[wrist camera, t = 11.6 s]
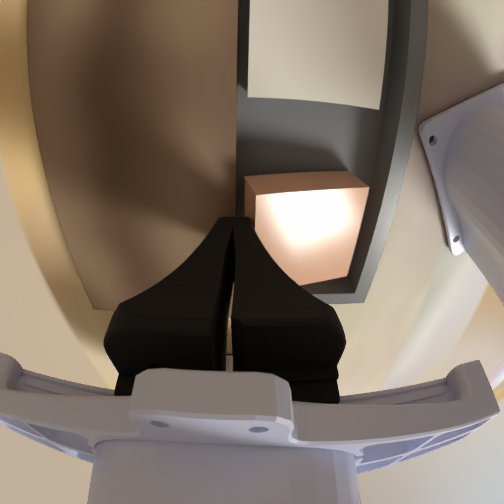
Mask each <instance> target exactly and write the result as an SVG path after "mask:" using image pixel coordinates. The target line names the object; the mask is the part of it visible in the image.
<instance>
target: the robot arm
mask: <svg viewBox="0 0 504 504" xmlns="http://www.w3.org/2000/svg"><path fill="white" fill-rule="evenodd" d="M419 135H420V137H421V140H422V143H423V146H424V149H425V152H426V155H427V158H428V162H429V165H430V168H431V172H432V175H433V178H434V182H435V186H436V189H437V193H438V197H439V201H440V205H441V210H442V214H443V219H444V223H445V228H446V233H447V239H448V244H449V250H450V252H451V253H452V255H458V254H460V253H462V252H463V251H466V252H467V253H468V255H469V256H470V257H471V259H472V260H473V261H474V263H475V264H476V265H477V267H478V268H479V269H480V271H481V272H482V274H483V275H484V276H485V278H486V279H487V281H488V282H489V284H490V285H491V287H492V288H493V289H494V291H495V293H496V294H497V296H498V297H499V299H500V300H501V302H502V303H503V305H504V83H502V84H500V85H498V86H496V87H493V88H491V89H489V90H487V91H485V92H483V93H481V94H478V95H476V96H474V97H472V98H470V99H468V100H466V101H464V102H462V103H460V104H458V105H455V106H453V107H451V108H449V109H447V110H445V111H443V112H441V113H439V114H437V115H435V116H433V117H431V118H429V119H427V120H425V121H423V122H422V123H421V124H420V126H419ZM431 136H433V141H432V142H431V143H429V139H430V137H431ZM455 236H456V237H455ZM454 237H455V238H454ZM233 283H234V291H233V302H232V312H231V329H232V351H233V372H232V371H226V353H227V326H228V317H229V310H230V303H231V296H232V290H233ZM345 345H346V339H345V334H344V330H343V327H342V325H341V322H340V320H339V318H338V316H337V314H336V312H335V310H334V308H333V307H332V306H330V305H328V304H326V303H325V302H323V301H321V300H320V299H318V298H316V297H315V296H313V295H312V294H310V293H309V292H307V291H306V290H305V289H303V288H302V287H301V286H299V285H298V284H297V283H296V282H295V281H294V280H292V279H291V278H290V277H289V276H288V275H287V274H286V273H285V272H284V271H283V270H282V269H281V268H280V267H279V265H278V264H277V263H276V262H275V261H274V259H273V258H272V257H271V255H270V254H269V253H268V251H267V250H266V248H265V247H264V245H263V244H262V242H261V240H260V239H259V237H258V235H257V233H256V231H255V229H254V227H253V224H252V221H251V219H250V218H249V217H219V218H218V219H217V220H216V222H215V224H214V225H213V227H212V229H211V230H210V231H209V233H208V234H207V236H206V237H205V238H204V239H203V241H202V242H201V243H200V245H199V246H198V247H197V248H196V249H195V250H194V251H193V253H192V254H191V255H190V256H189V257H188V258H187V259H186V260H185V261H184V262H183V263H182V264H181V265H180V266H179V267H178V268H176V269H175V270H174V271H173V272H172V273H170V274H169V275H168V276H166V277H165V278H164V279H162V280H161V281H160V282H158V283H156V284H155V285H153V286H152V287H150V288H148V289H147V290H145V291H143V292H142V293H140V294H138V295H136V296H134V297H132V298H130V299H128V300H126V301H124V302H122V303H119V305H118V307H117V309H116V311H115V312H114V314H113V316H112V319H111V321H110V324H109V326H108V329H107V332H106V335H105V338H104V348H105V351H106V353H107V355H108V356H109V358H110V360H111V361H112V363H113V365H114V366H115V368H116V369H117V371H118V373H119V376H118V379H117V383H116V387H115V390H111V389H105V388H100V387H94V386H89V385H84V384H79V383H74V382H70V381H66V380H62V379H57V378H54V377H50V376H46V375H42V374H39V373H35V372H32V371H28V370H24V369H23V368H22V367H21V365H20V364H19V363H18V362H17V361H16V360H15V359H14V358H13V357H11V356H9V355H6V354H3V353H0V423H1V424H2V425H4V426H5V427H7V428H8V429H10V430H12V431H14V432H16V433H19V434H21V435H23V436H25V437H28V438H30V439H32V440H34V441H36V442H39V443H41V444H43V445H46V446H48V447H50V448H53V449H55V450H58V451H60V452H63V453H65V454H68V455H70V456H73V457H76V458H79V459H81V460H85V461H87V462H90V463H93V469H92V476H91V482H90V488H89V496H88V502H87V504H361V501H360V494H359V486H358V479H357V474H360V473H364V472H369V471H372V470H376V469H380V468H383V467H387V466H390V465H393V464H397V463H400V462H403V461H406V460H409V459H412V458H415V457H417V456H420V455H423V454H426V453H428V452H431V451H434V450H437V449H439V448H442V447H444V446H447V445H450V444H452V443H455V442H457V441H460V440H462V439H464V438H466V437H467V436H468V435H470V434H472V433H473V432H474V431H476V430H477V429H479V428H480V427H481V426H483V425H484V424H485V423H487V422H488V421H490V420H491V419H492V418H493V417H495V416H496V415H497V414H499V412H500V409H499V407H498V404H497V401H496V399H495V396H494V393H493V391H492V388H491V386H490V383H489V381H488V379H487V376H486V374H485V372H484V369H483V367H482V365H481V363H480V360H475V361H472V362H468V363H464V364H461V365H458V366H456V367H455V368H454V369H452V370H451V371H450V372H449V374H448V375H447V376H446V378H443V379H438V380H434V381H430V382H425V383H421V384H416V385H411V386H406V387H401V388H395V389H389V390H383V391H377V392H370V393H363V394H355V395H347V396H340V395H339V390H338V385H337V379H338V376H339V374H338V369H337V364H338V362H339V360H340V358H341V356H342V354H343V351H344V349H345Z"/></svg>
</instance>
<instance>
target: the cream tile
mask: <svg viewBox="0 0 504 504" xmlns="http://www.w3.org/2000/svg"><path fill="white" fill-rule="evenodd" d="M387 24H388V0H250V18H249V56H248V97H258V98H282V99H297V100H309V101H319V102H328V103H337V104H345V105H352V106H358V107H365V108H371V109H377V110H379V107H380V99H381V91H382V83H383V74H384V64H385V53H386V40H387Z"/></svg>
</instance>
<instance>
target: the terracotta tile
mask: <svg viewBox="0 0 504 504" xmlns="http://www.w3.org/2000/svg"><path fill="white" fill-rule="evenodd" d="M368 192H369V187H368V186H367V185H366V184H365V183H363V182H362V181H361V180H360V179H358V178H357V177H356V176H354V175H353V174H352V173H351V172H349V171H323V172H300V173H282V174H267V175H254V176H244V217H249V218H250V219H251V221H252V224H253V227H254V229H255V231H256V233H257V235H258V237H259V239H260V240H261V242H262V244H263V245H264V247H265V248H266V250H267V251H268V253H269V254H270V255H271V257H272V258H273V259H274V261H275V262H276V263H277V264H278V265H279V267H280V268H281V269H282V270H283V271H284V272H285V273H286V274H287V275H288V276H289V277H290V278H291V279H292V280H294V281H295V282H296V283H297V284H298V285H299V286H300V285H305V284H310V283H315V282H320V281H325V280H330V279H335V278H340V277H345V276H347V274H348V270H349V267H350V263H351V260H352V256H353V253H354V249H355V245H356V241H357V238H358V234H359V230H360V226H361V222H362V218H363V214H364V209H365V205H366V201H367V196H368Z"/></svg>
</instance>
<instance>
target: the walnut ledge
mask: <svg viewBox="0 0 504 504" xmlns="http://www.w3.org/2000/svg"><path fill="white" fill-rule="evenodd" d="M238 39H239V0H28V4H27V59H28V74H29V85H30V94H31V102H32V109H33V116H34V122H35V128H36V134H37V139H38V144H39V149H40V154H41V158H42V163H43V167H44V171H45V175H46V179H47V183H48V186H49V190H50V194H51V197H52V201H53V204H54V207H55V211H56V214H57V217H58V220H59V223H60V226H61V229H62V232H63V235H64V238H65V241H66V244H67V246H68V249H69V252H70V254H71V257H72V260H73V262H74V265H75V267H76V270H77V272H78V275H79V277H80V279H81V282H82V284H83V287H84V289H85V291H86V293H87V296H88V298H89V300H90V302H91V304H92V307H93V309H98V310H109V311H116V309H117V307H118V305H119V303H122V302H124V301H126V300H128V299H130V298H132V297H134V296H136V295H138V294H140V293H142V292H143V291H145V290H147V289H148V288H150V287H152V286H153V285H155V284H156V283H158V282H160V281H161V280H162V279H164V278H165V277H166V276H168V275H169V274H170V273H172V272H173V271H174V270H175V269H176V268H178V267H179V266H180V265H181V264H182V263H183V262H184V261H185V260H186V259H187V258H188V257H189V256H190V255H191V254H192V253H193V251H194V250H195V249H196V248H197V247H198V246H199V245H200V243H201V242H202V241H203V239H204V238H205V237H206V236H207V234H208V233H209V231H210V230H211V229H212V227H213V225H214V224H215V222H216V220H217V219H218V218H219V217H237V98H238ZM233 291H234V283H233V290H232V296H231V303H230V310H229V316H230V317H231V312H232V302H233Z"/></svg>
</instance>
